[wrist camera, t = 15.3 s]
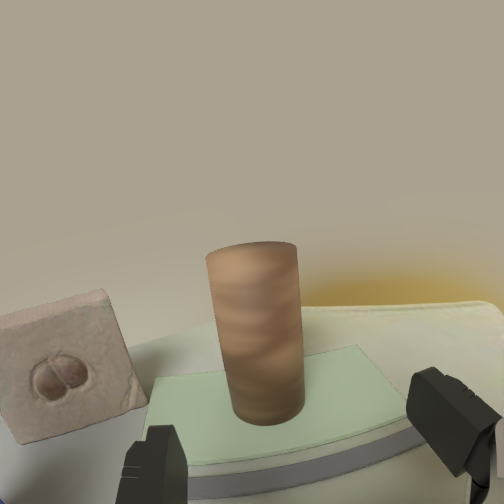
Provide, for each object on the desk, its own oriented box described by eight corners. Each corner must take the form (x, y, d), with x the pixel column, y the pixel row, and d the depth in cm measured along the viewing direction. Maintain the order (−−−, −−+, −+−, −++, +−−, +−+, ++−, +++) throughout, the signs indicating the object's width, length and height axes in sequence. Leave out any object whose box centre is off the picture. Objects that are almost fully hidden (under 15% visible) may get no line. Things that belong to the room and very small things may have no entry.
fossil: (19, 448, 14) (-40, 338, 12) (18, 423, 17) (-30, 321, 15) (150, 405, 21) (115, 293, 19) (135, 385, 24) (105, 283, 22)
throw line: (132, 498, 12) (130, 496, 12) (135, 480, 14) (134, 477, 13) (433, 438, 14) (434, 435, 14) (421, 425, 15) (422, 421, 15)
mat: (138, 466, 15) (136, 462, 15) (156, 380, 24) (155, 377, 24) (412, 414, 16) (413, 410, 16) (356, 348, 26) (356, 344, 26)
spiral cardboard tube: (235, 431, 17) (204, 269, 15) (229, 386, 23) (206, 248, 20) (314, 416, 18) (308, 254, 16) (295, 375, 23) (284, 238, 21)
